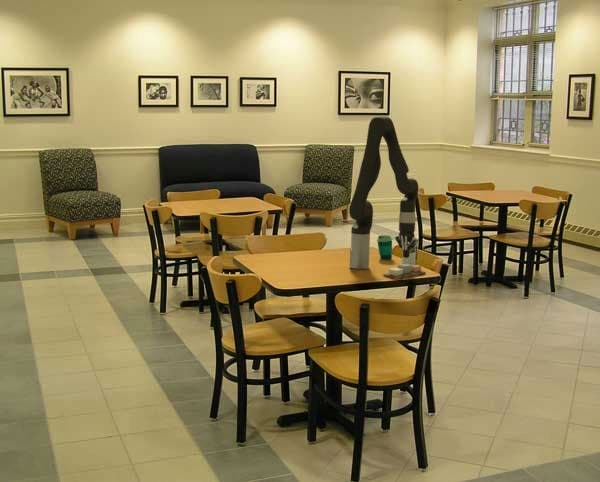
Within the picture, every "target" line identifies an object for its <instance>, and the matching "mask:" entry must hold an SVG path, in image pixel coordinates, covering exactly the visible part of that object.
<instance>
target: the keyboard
mask: <svg viewBox="0 0 600 482" xmlns="http://www.w3.org/2000/svg"><path fill="white" fill-rule="evenodd" d="M426 274H427V272H426V271H424V270H420V271H419V272H415V273H414V272H411V273H406V274H405V273H403V274H401V275H399V276H394V275H390V273H388V272H387V273H383V277H384V276H387V277H386V278H388V277H390V278H389V279H393V280H397V281H398V280H403V279H408V278H414V277H419V276H424V275H426Z"/></svg>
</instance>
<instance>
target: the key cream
mask: <svg viewBox="0 0 600 482" xmlns="http://www.w3.org/2000/svg"><path fill="white" fill-rule="evenodd" d="M387 273H390V275H394V276H399V275H401V274H403V269H399V268H398V267H392V268H388V272H387Z"/></svg>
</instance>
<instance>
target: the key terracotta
mask: <svg viewBox="0 0 600 482" xmlns="http://www.w3.org/2000/svg"><path fill="white" fill-rule="evenodd" d="M419 271H422V266H421V265H418V264H417V265H414V264H413V265H412V269H411V272H414V273H415V272H419Z"/></svg>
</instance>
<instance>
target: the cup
mask: <svg viewBox="0 0 600 482" xmlns="http://www.w3.org/2000/svg"><path fill="white" fill-rule="evenodd" d="M376 242H377V247H378V254H379V256H380V257H379V259H380V260H383V261H390V260H392V259H393V257H392V256H393V255H392V254H393V237H392V236H391V235H386V234H385V235H382V234H381V235H378V237H377V239H376Z"/></svg>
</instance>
